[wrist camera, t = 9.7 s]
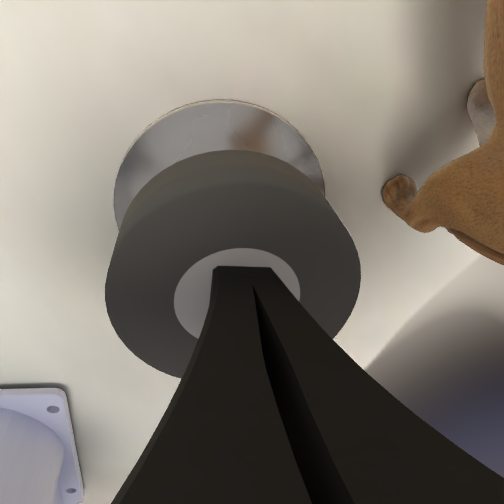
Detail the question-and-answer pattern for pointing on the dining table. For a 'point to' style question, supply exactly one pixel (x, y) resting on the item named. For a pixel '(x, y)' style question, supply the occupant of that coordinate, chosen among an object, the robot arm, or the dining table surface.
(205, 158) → the wheel
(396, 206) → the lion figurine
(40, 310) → the dining table surface
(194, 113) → the axle mount
